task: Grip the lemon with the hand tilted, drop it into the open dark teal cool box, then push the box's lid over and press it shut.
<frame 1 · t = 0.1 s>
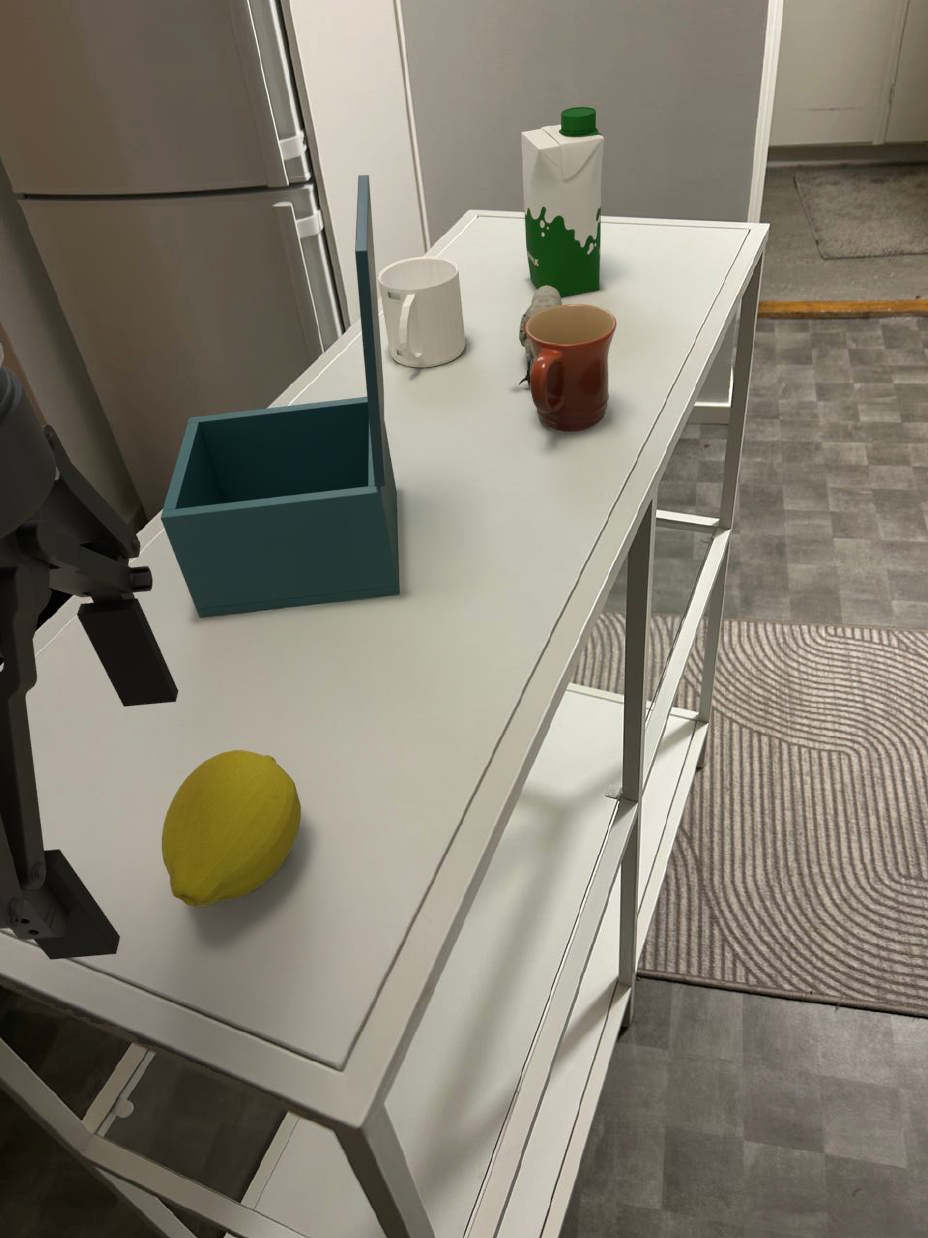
hand: (122, 809, 43), 17 cm above the table, tool pointing down, fingers open, 13 cm apart
mug: (565, 426, 95), on the table
mug 2: (422, 357, 109), on the table
cooler: (304, 551, 83), on the table
cooler lid: (371, 331, 70), point 20 cm above the table, hinge at 95.0°
lemon: (246, 864, 60), on the table
soya milk: (563, 286, 120), on the table
decorative bird: (545, 358, 106), on the table
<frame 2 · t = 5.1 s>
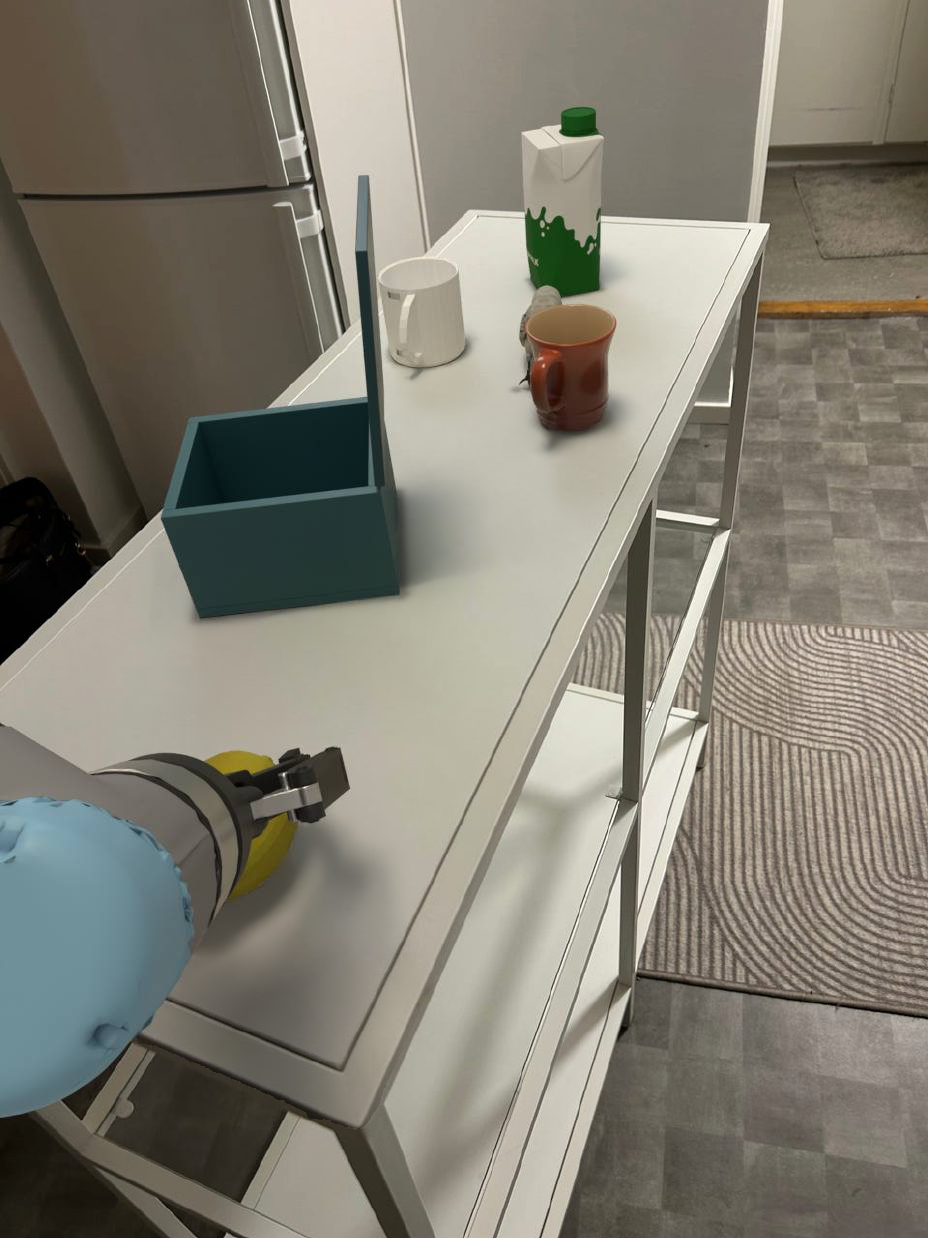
hand: (229, 786, 59), 4 cm above the table, tool tilted 45°, fingers closed on lemon, 8 cm apart
lemon: (244, 864, 60), on the table, touching gripper
everything else where it was.
when the fingers open (11 cm above the table, at t = 14.4 s): lemon drops 5 cm, resting on cooler.
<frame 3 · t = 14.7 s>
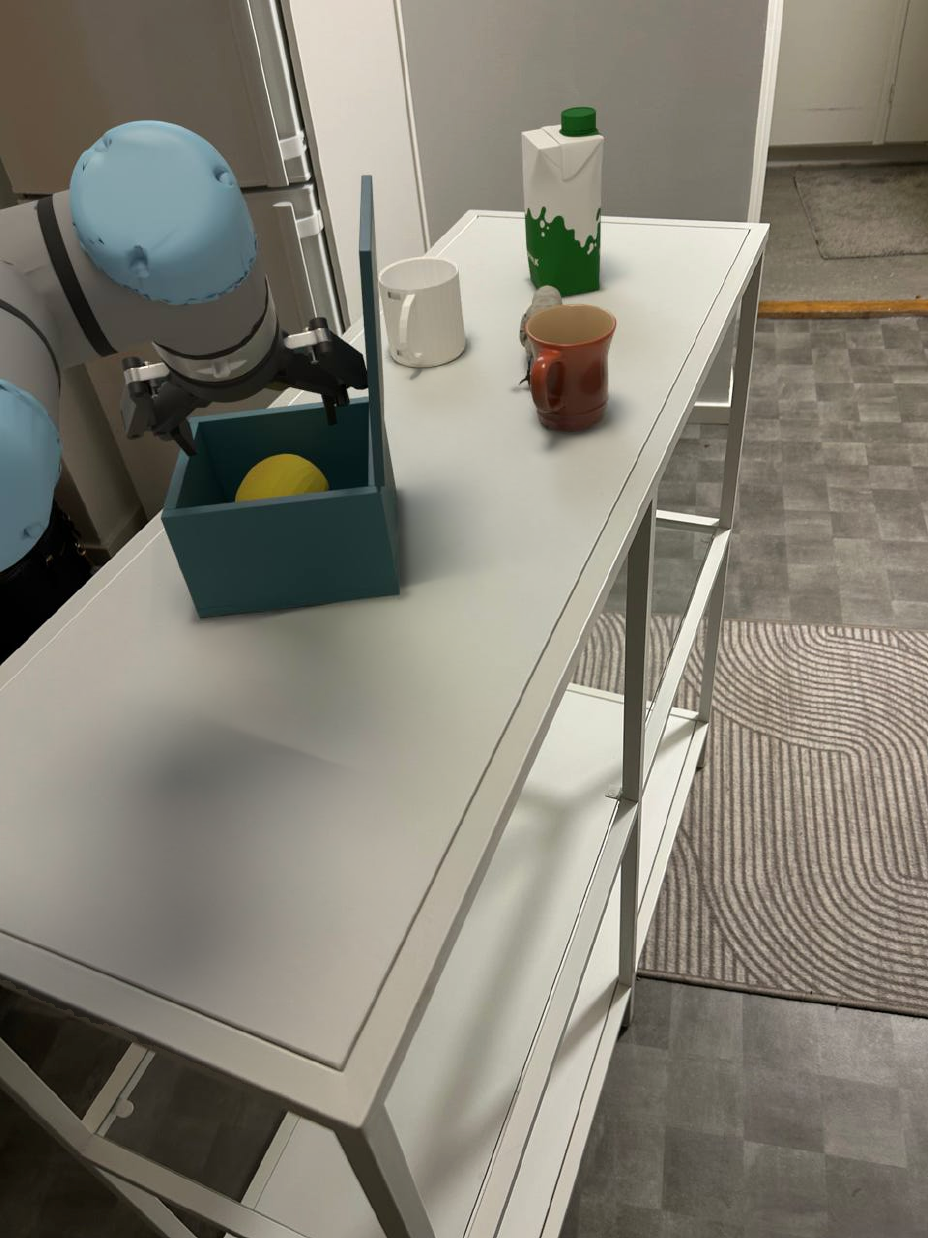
hand: (259, 424, 77), 12 cm above the table, tool tilted 45°, fingers open, 11 cm apart
cooler lid: (373, 331, 70), point 20 cm above the table, hinge at 95.8°
lemon: (286, 544, 82), point 1 cm above the table, touching cooler
everything else where it was.
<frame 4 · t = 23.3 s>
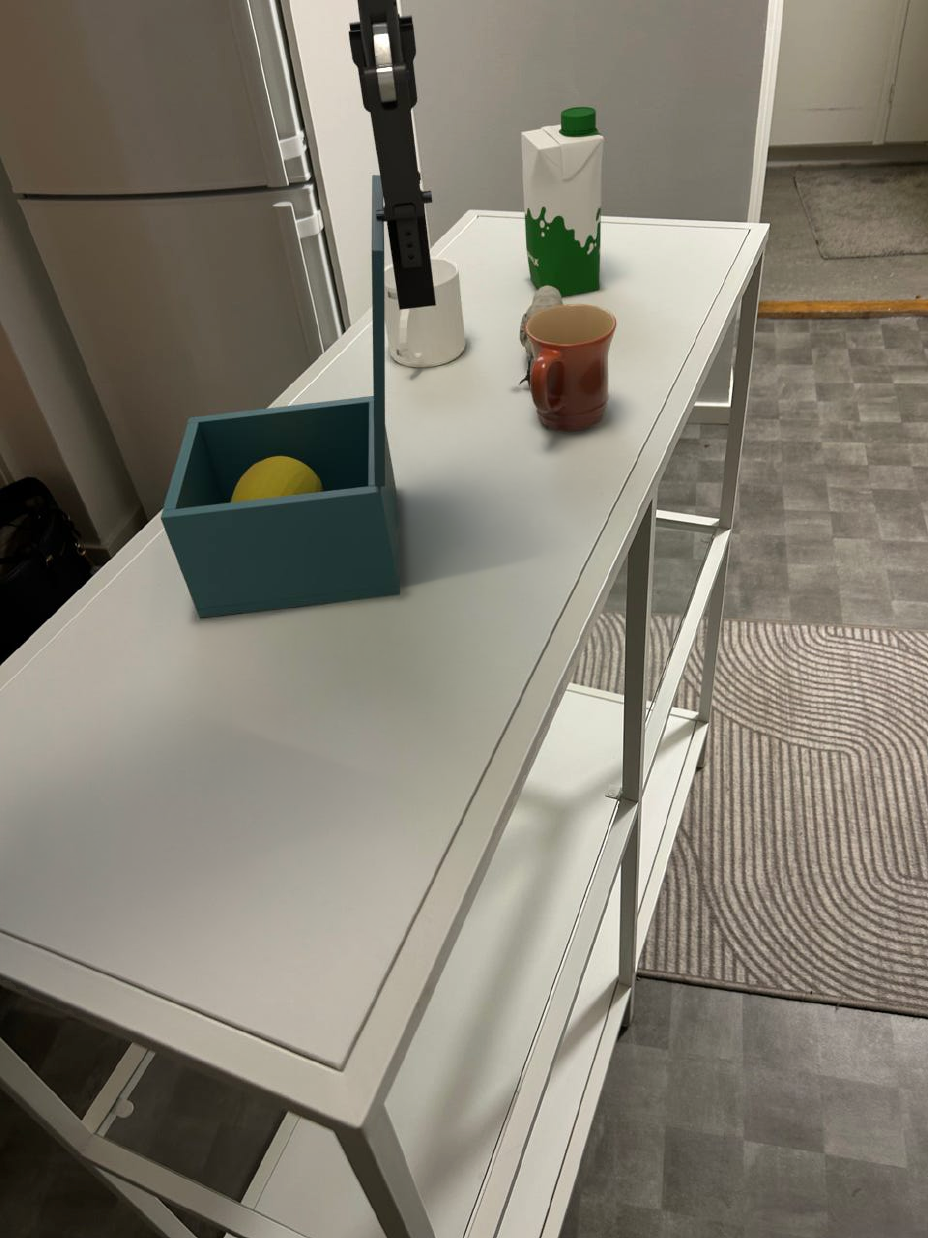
hand: (417, 302, 68), 22 cm above the table, tool pointing down, fingers closed
cooler lid: (378, 331, 70), point 20 cm above the table, hinge at 98.3°
everything else where it was.
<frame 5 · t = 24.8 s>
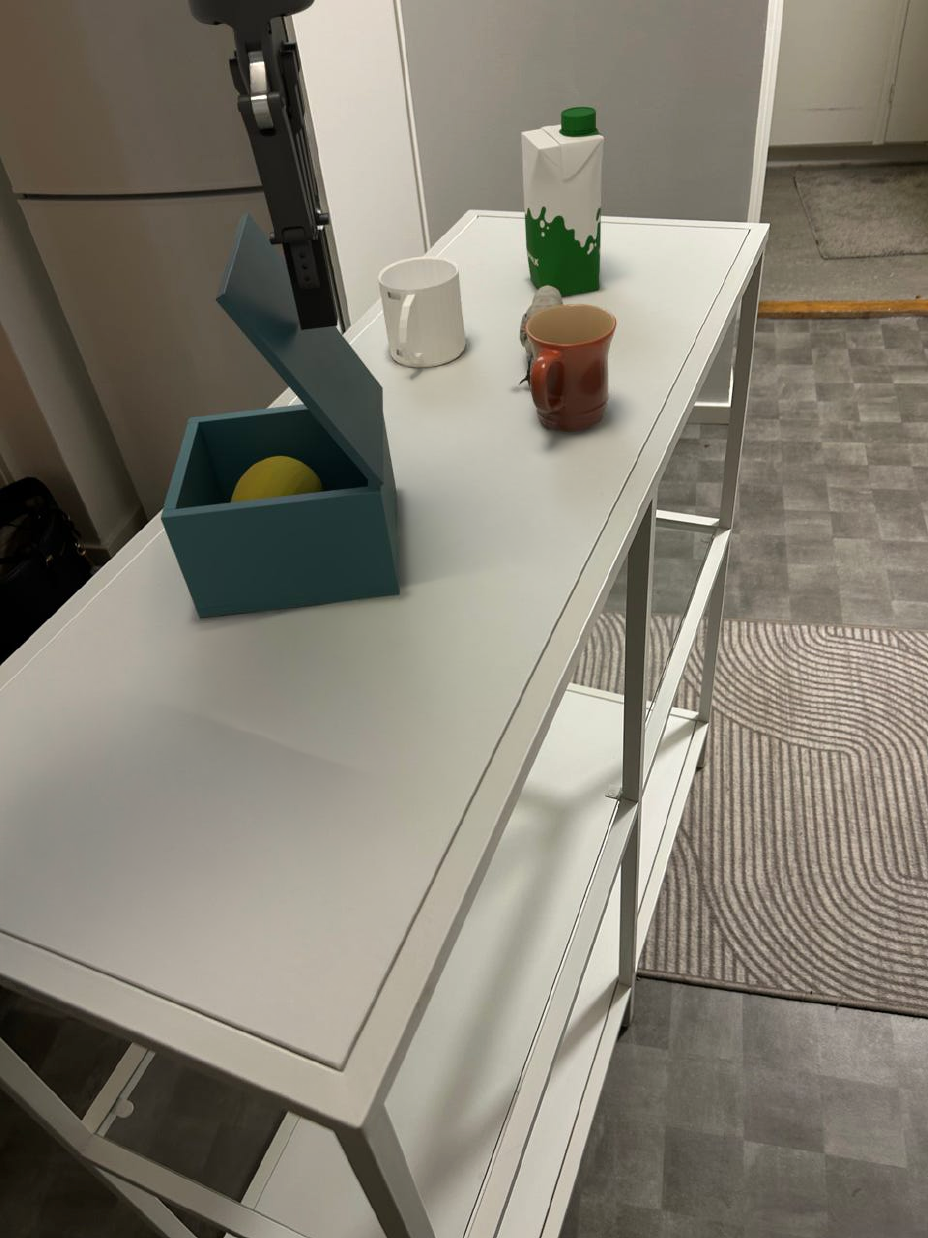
hand: (319, 323, 69), 21 cm above the table, tool pointing down, fingers closed
cooler lid: (311, 350, 70), point 19 cm above the table, hinge at 63.4°, touching gripper
everything else where it was.
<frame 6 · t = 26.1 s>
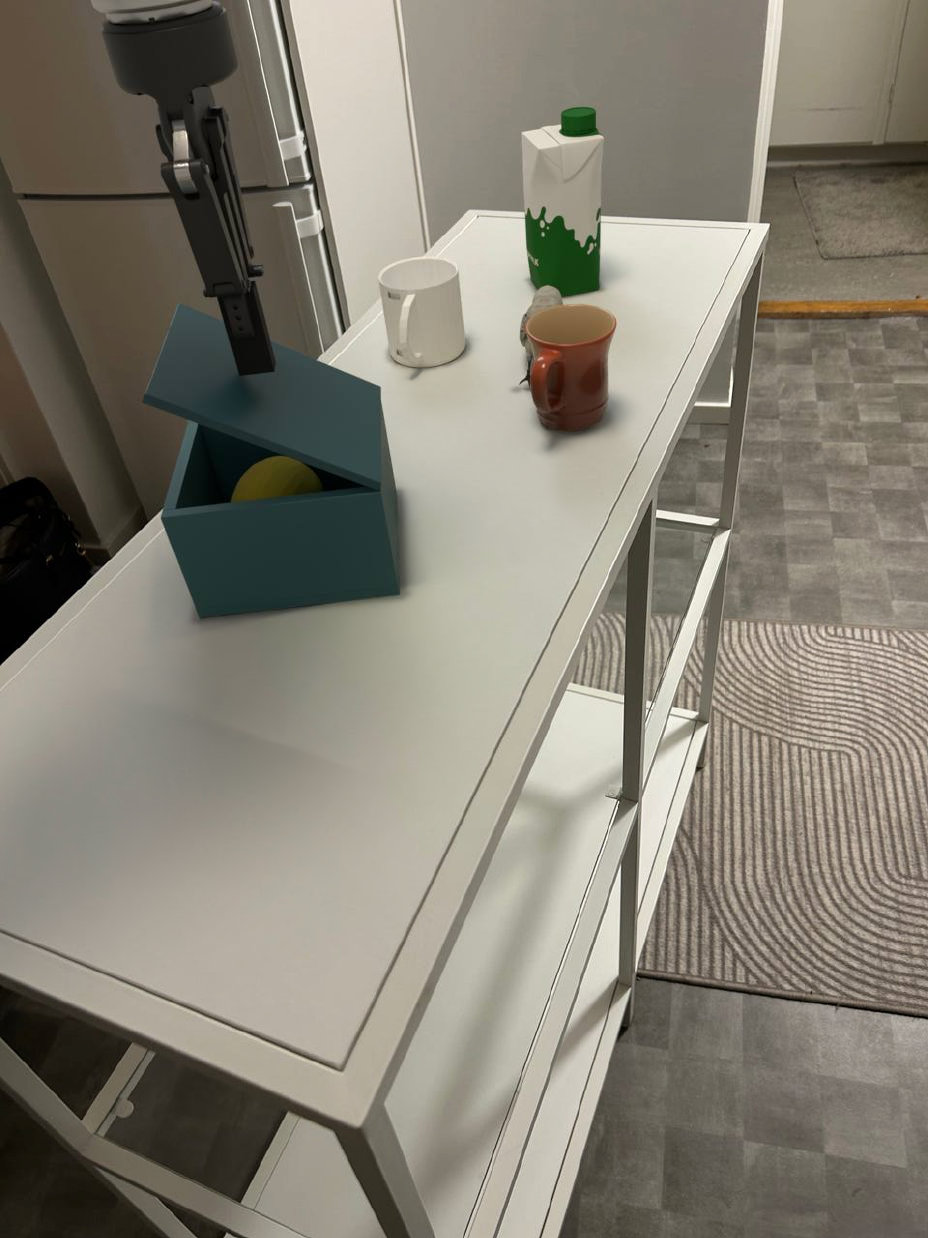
hand: (257, 368, 71), 18 cm above the table, tool pointing down, fingers closed
cooler lid: (275, 393, 72), point 16 cm above the table, hinge at 32.3°, touching gripper
everything else where it was.
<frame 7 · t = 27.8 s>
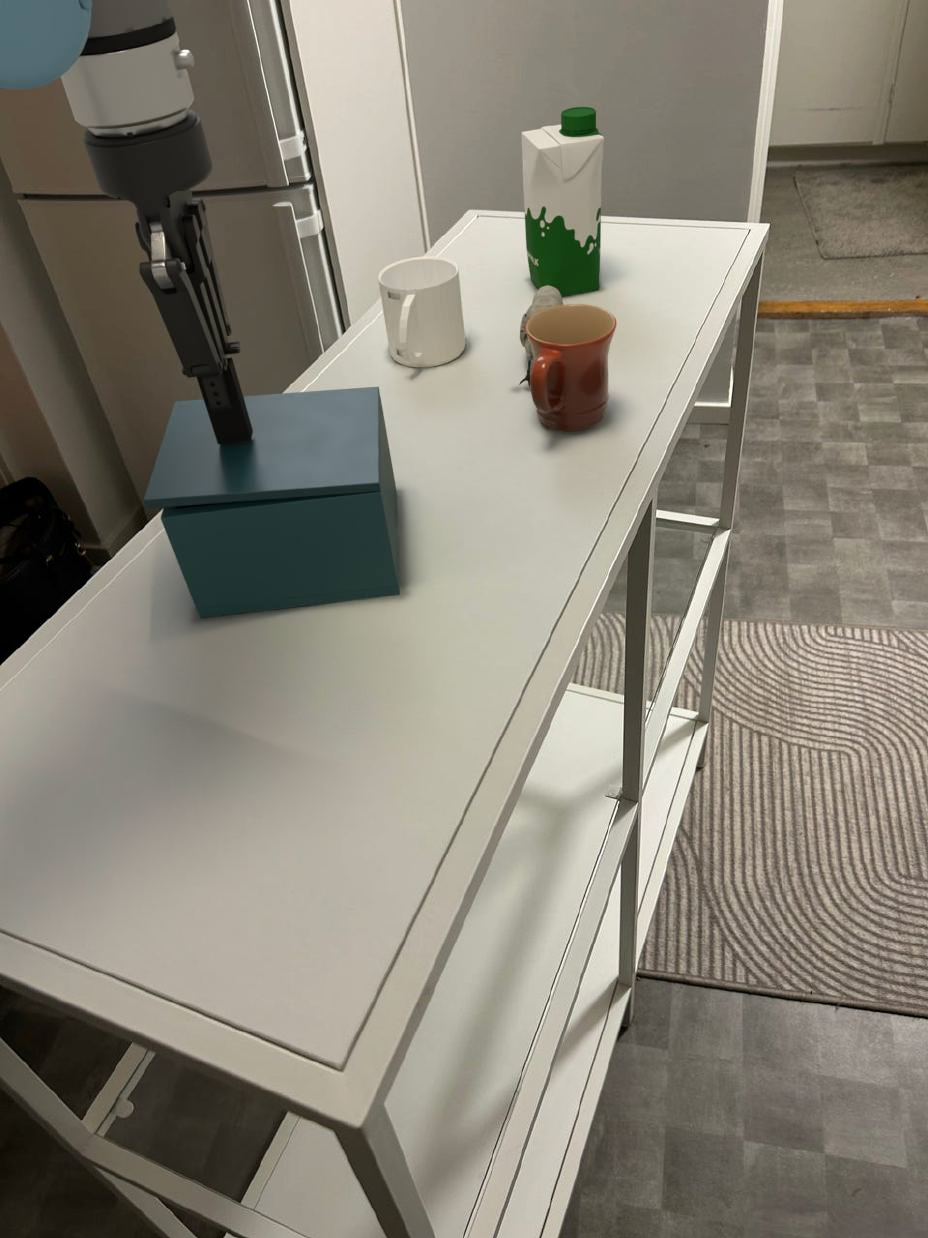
hand: (235, 437, 75), 12 cm above the table, tool pointing down, fingers closed
cooler lid: (270, 443, 75), point 11 cm above the table, hinge at 2.9°, touching gripper
everything else where it was.
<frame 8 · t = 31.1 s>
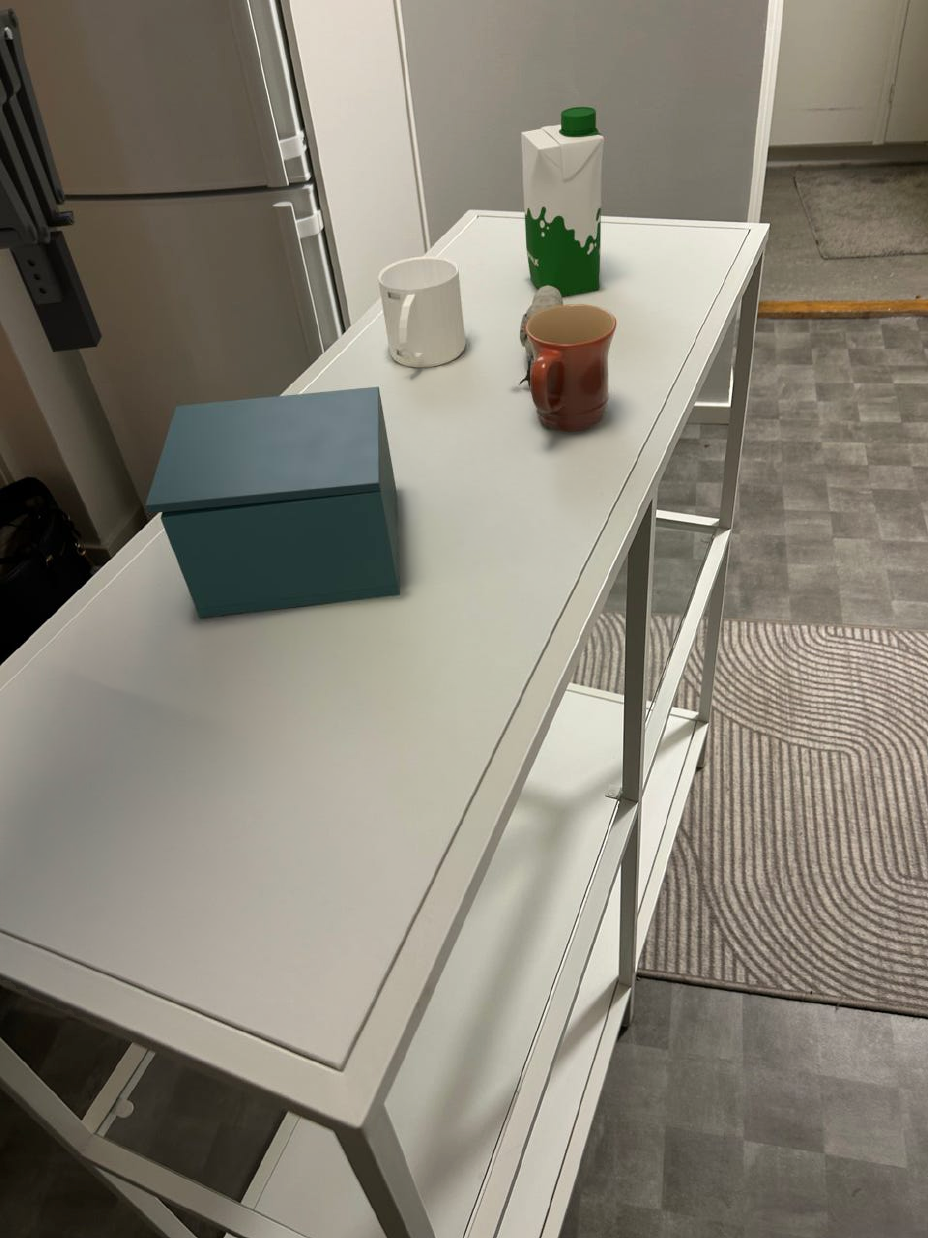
hand: (77, 343, 57), 26 cm above the table, tool pointing down, fingers closed
cooler lid: (271, 445, 76), point 11 cm above the table, hinge at 1.4°
everything else where it was.
at the end: lemon inside the target area in the cooler (1.4 cm from its centre), point 0.8 cm above the cooler's base; cooler lid at +1° (first picture: +95°) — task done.
